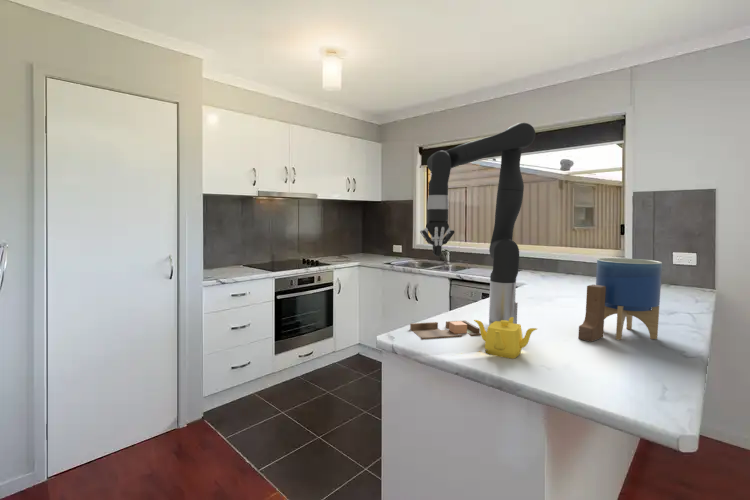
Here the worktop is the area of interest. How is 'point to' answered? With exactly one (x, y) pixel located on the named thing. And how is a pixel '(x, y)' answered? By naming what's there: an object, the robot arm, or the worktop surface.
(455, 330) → the block
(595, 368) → the worktop surface
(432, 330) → the box
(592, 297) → the wooden block
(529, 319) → the worktop surface
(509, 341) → the teapot
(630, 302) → the planter
